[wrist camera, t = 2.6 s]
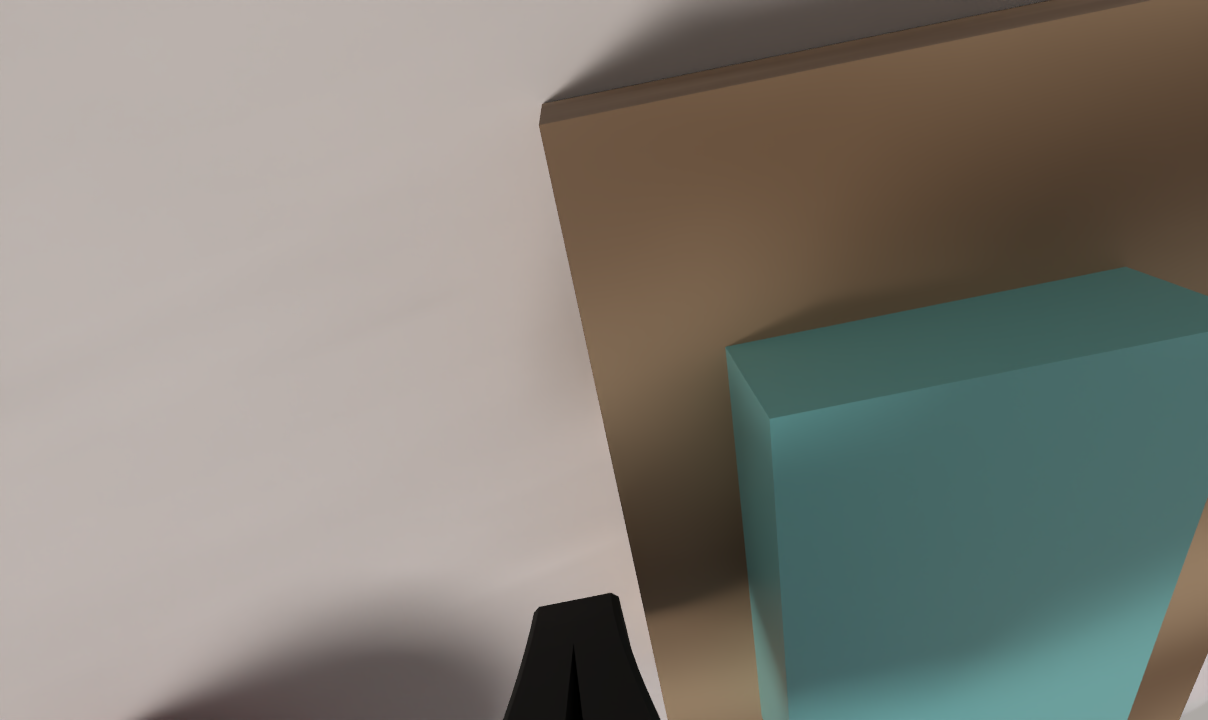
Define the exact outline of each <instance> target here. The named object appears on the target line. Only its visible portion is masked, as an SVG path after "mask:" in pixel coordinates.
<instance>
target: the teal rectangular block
mask: <svg viewBox="0 0 1208 720" xmlns="http://www.w3.org/2000/svg"><path fill="white" fill-rule="evenodd" d="M725 349H726V359H727V369H728V379H729V390H730V400H731V410H732V420H733V430H734V440H735V451H736V461H737V471H738V481H739V491H740V501H741V512H742V522H743V532H744V542H745V552H746V562H747V573H748V583H749V593H750V603H751V613H752V623H753V634H754V644H755V654H756V664H757V674H758V684H759V695H760V705H761V715H762V718H763V720H1127V719H1128V717H1129V714H1130V711H1131V708H1132V705H1133V703H1134V700H1135V697H1136V694H1137V692H1138V689H1139V686H1140V683H1141V681H1142V678H1143V675H1144V672H1145V669H1146V667H1147V664H1148V661H1149V658H1150V656H1151V653H1152V650H1153V647H1154V645H1155V642H1156V639H1157V636H1158V633H1159V631H1160V628H1161V625H1162V622H1163V620H1164V617H1165V614H1166V611H1167V609H1168V606H1169V603H1170V600H1171V597H1172V595H1173V592H1174V589H1175V586H1176V584H1177V581H1178V578H1179V575H1180V573H1181V570H1182V567H1183V564H1184V561H1185V559H1186V556H1187V553H1188V550H1189V548H1190V545H1191V542H1192V539H1193V537H1194V534H1195V531H1196V528H1197V526H1198V523H1199V520H1200V517H1201V514H1202V512H1203V509H1204V506H1205V503H1206V501H1207V498H1208V296H1206V295H1204V294H1201V293H1198V292H1195V291H1192V290H1190V289H1187V288H1184V287H1181V286H1178V285H1176V284H1173V283H1170V282H1167V281H1165V280H1162V279H1159V278H1156V277H1153V276H1151V275H1148V274H1145V273H1142V272H1139V271H1137V270H1134V269H1131V268H1128V267H1122V268H1117V269H1112V270H1107V271H1102V272H1097V273H1092V274H1087V275H1082V276H1077V277H1072V278H1067V279H1062V280H1057V281H1052V282H1047V283H1042V284H1037V285H1032V286H1027V287H1022V288H1017V289H1012V290H1007V291H1002V292H997V293H992V294H987V295H982V296H977V297H972V298H967V299H962V300H957V301H952V302H947V303H942V304H937V305H932V306H927V307H922V308H917V309H912V310H907V311H902V312H897V313H892V314H887V315H882V316H877V317H872V318H867V319H862V320H857V321H852V322H847V323H842V324H837V325H832V326H827V327H822V328H817V329H812V330H807V331H802V332H797V333H792V334H787V335H782V336H777V337H772V338H767V339H762V340H757V341H752V342H747V343H742V344H737V345H732V346H727V347H725Z"/></svg>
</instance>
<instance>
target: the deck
mask: <svg viewBox="0 0 1208 720" xmlns="http://www.w3.org/2000/svg"><path fill="white" fill-rule="evenodd" d="M539 128H540V132H541V137H542V142H543V146H544V151H545V155H546V160H547V165H548V169H549V174H550V178H551V183H552V188H553V192H554V197H555V202H556V206H557V211H558V215H559V220H560V225H561V229H562V234H563V238H564V243H565V248H566V252H567V257H568V261H569V266H570V271H571V275H572V280H573V285H574V289H575V294H576V298H577V303H578V308H579V312H580V317H581V321H582V326H583V331H584V335H585V340H586V345H587V349H588V354H589V358H590V363H591V368H592V372H593V377H594V381H595V386H596V391H597V395H598V400H599V404H600V409H601V414H602V418H603V423H604V428H605V432H606V437H607V441H608V446H609V451H610V455H611V460H612V464H613V469H614V474H615V478H616V483H617V488H618V492H619V497H620V501H621V506H622V511H623V515H624V520H625V524H626V529H627V534H628V538H629V543H630V548H631V552H632V557H633V561H634V566H635V571H636V575H637V580H638V584H639V589H640V594H641V598H642V603H643V607H644V612H645V617H646V621H647V626H648V631H649V635H650V640H651V644H652V649H653V654H654V658H655V663H656V667H657V672H658V677H659V681H660V686H661V691H662V695H663V700H664V704H665V709H666V714H667V718H668V720H763V718H762V715H761V705H760V695H759V684H758V674H757V664H756V654H755V644H754V634H753V623H752V613H751V603H750V593H749V583H748V573H747V562H746V552H745V542H744V532H743V522H742V512H741V501H740V491H739V481H738V471H737V461H736V451H735V440H734V430H733V420H732V410H731V400H730V390H729V379H728V369H727V359H726V349H725V347H727V346H732V345H737V344H742V343H747V342H752V341H757V340H762V339H767V338H772V337H777V336H782V335H787V334H792V333H797V332H802V331H807V330H812V329H817V328H822V327H827V326H832V325H837V324H842V323H847V322H852V321H857V320H862V319H867V318H872V317H877V316H882V315H887V314H892V313H897V312H902V311H907V310H912V309H917V308H922V307H927V306H932V305H937V304H942V303H947V302H952V301H957V300H962V299H967V298H972V297H977V296H982V295H987V294H992V293H997V292H1002V291H1007V290H1012V289H1017V288H1022V287H1027V286H1032V285H1037V284H1042V283H1047V282H1052V281H1057V280H1062V279H1067V278H1072V277H1077V276H1082V275H1087V274H1092V273H1097V272H1102V271H1107V270H1112V269H1117V268H1122V267H1128V268H1131V269H1134V270H1137V271H1139V272H1142V273H1145V274H1148V275H1151V276H1153V277H1156V278H1159V279H1162V280H1165V281H1167V282H1170V283H1173V284H1176V285H1178V286H1181V287H1184V288H1187V289H1190V290H1192V291H1195V292H1198V293H1201V294H1204V295H1206V296H1208V0H1049V1H1044V2H1039V3H1034V4H1029V5H1024V6H1019V7H1014V8H1010V9H1005V10H1000V11H995V12H990V13H985V14H980V15H975V16H970V17H965V18H961V19H956V20H951V21H946V22H941V23H936V24H931V25H926V26H921V27H916V28H912V29H907V30H902V31H897V32H892V33H887V34H882V35H877V36H872V37H867V38H862V39H858V40H853V41H848V42H843V43H838V44H833V45H828V46H823V47H818V48H813V49H809V50H804V51H799V52H794V53H789V54H784V55H779V56H774V57H769V58H764V59H759V60H755V61H750V62H745V63H740V64H735V65H730V66H725V67H720V68H715V69H710V70H706V71H701V72H696V73H691V74H686V75H681V76H676V77H671V78H666V79H661V80H657V81H652V82H647V83H642V84H637V85H632V86H627V87H622V88H617V89H612V90H607V91H603V92H598V93H593V94H588V95H583V96H578V97H573V98H568V99H563V100H558V101H554V102H549V103H544V104H542V109H541V115H540V122H539ZM1207 654H1208V498H1207V501H1206V503H1205V506H1204V509H1203V512H1202V514H1201V517H1200V520H1199V523H1198V526H1197V528H1196V531H1195V534H1194V537H1193V539H1192V542H1191V545H1190V548H1189V550H1188V553H1187V556H1186V559H1185V561H1184V564H1183V567H1182V570H1181V573H1180V575H1179V578H1178V581H1177V584H1176V586H1175V589H1174V592H1173V595H1172V597H1171V600H1170V603H1169V606H1168V609H1167V611H1166V614H1165V617H1164V620H1163V622H1162V625H1161V628H1160V631H1159V633H1158V636H1157V639H1156V642H1155V645H1154V647H1153V650H1152V653H1151V656H1150V658H1149V661H1148V664H1147V667H1146V669H1145V672H1144V675H1143V678H1142V681H1141V683H1140V686H1139V689H1138V692H1137V694H1136V697H1135V700H1134V703H1133V705H1132V708H1131V711H1130V714H1129V717H1128V719H1127V720H1179V719H1180V717H1181V715H1182V712H1183V710H1184V708H1185V705H1186V703H1187V700H1188V698H1189V696H1190V693H1191V691H1192V689H1193V686H1194V684H1195V682H1196V679H1197V677H1198V675H1199V672H1200V670H1201V668H1202V665H1203V663H1204V661H1205V658H1206V656H1207Z"/></svg>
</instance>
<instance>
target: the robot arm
mask: <svg viewBox="0 0 1208 720" xmlns="http://www.w3.org/2000/svg"><path fill="white" fill-rule="evenodd" d="M503 720H660V718H659V715H658V713H657V711H656V709H655V706H654V704H653V702H652V700H651V698H650V695H649V693H648V691H647V689H646V686H645V684H644V681H643V679H642V677H641V674H640V672H639V669H638V666H637V664H636V661H635V658H634V655H633V653H632V650H631V646H630V642H629V638H628V633H627V629H626V625H625V621H624V617H623V613H622V609H621V605H620V601H619V597H618V596H616V595H614V594H612V593H607V594H602V595H597V596H592V597H587V598H582V599H577V600H572V601H567V602H562V603H557V604H552V605H547V606H542V607H539V608H538V609H537V610H536V611H535V612H534V615H533V620H532V624H531V629H530V633H529V637H528V641H527V645H526V648H525V652H524V656H523V659H522V663H521V666H520V669H519V673H518V676H517V679H516V682H515V686H514V689H513V692H512V695H511V698H510V701H509V704H508V707H507V710H506V713H505V716H504V718H503Z"/></svg>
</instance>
